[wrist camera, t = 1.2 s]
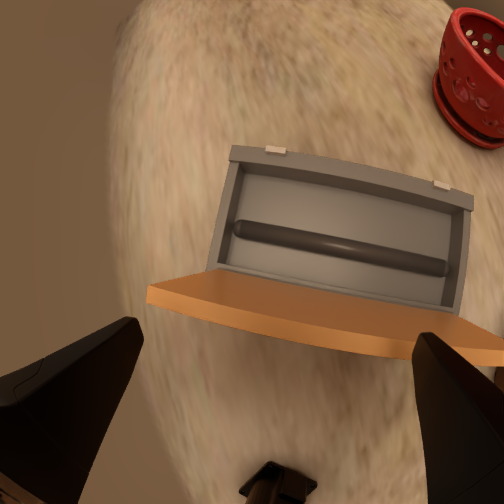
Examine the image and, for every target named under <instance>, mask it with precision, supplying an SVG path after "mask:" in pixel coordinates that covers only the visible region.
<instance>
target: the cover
mask: <svg viewBox="0 0 504 504" xmlns="http://www.w3.org/2000/svg"><path fill="white" fill-rule="evenodd" d="M146 303H149V304H152V305H155V306H158V307H161V308H165V309H168V310H171V311H175V312H178V313H181V314H185V315H188V316H192V317H195V318H199V319H202V320H206V321H210V322H214V323H217V324H221V325H225V326H229V327H233V328H237V329H241V330H245V331H249V332H253V333H258V334H262V335H266V336H271V337H275V338H280V339H284V340H289V341H294V342H299V343H304V344H309V345H314V346H319V347H325V348H330V349H336V350H342V351H348V352H354V353H360V354H367V355H374V356H381V357H388V358H396V359H404V360H412V352H413V349H414V346H415V343H416V341H417V338H418V336H419V334H420V333H421V332H433V333H434V334H435V335H437V336H438V337H439V338H440V339H442V340H443V341H444V342H445V343H447V344H448V345H449V346H450V347H452V348H453V349H454V350H455V351H456V352H458V353H459V354H460V355H461V356H462V357H464V358H465V359H466V360H467V361H468V362H470V363H471V364H472V365H474V366H504V340H503V339H502V338H500V337H498V336H496V335H494V334H492V333H490V332H488V331H486V330H484V329H482V328H480V327H478V326H476V325H475V324H473V323H471V322H469V321H467V320H465V319H463V318H461V317H459V316H457V315H455V314H454V313H453V312H449V311H443V310H437V309H431V308H425V307H420V306H414V305H408V304H402V303H397V302H391V301H386V300H380V299H375V298H369V297H364V296H358V295H353V294H348V293H343V292H337V291H332V290H327V289H322V288H317V287H312V286H307V285H301V284H296V283H292V282H287V281H282V280H277V279H272V278H267V277H262V276H257V275H253V274H248V273H243V272H238V271H234V270H229V269H224V268H220V267H218V268H217V269H215V270H211V271H206V272H202V273H198V274H194V275H190V276H185V277H181V278H177V279H173V280H168V281H164V282H160V283H155V284H151V285H148V290H147V298H146Z"/></svg>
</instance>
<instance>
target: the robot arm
mask: <svg viewBox="0 0 504 504" xmlns="http://www.w3.org/2000/svg"><path fill="white" fill-rule="evenodd" d="M143 342H144V336H143V333H142V330H141V327H140V324H139V321H138V320H137V318H135V317H128V316H126V317H123V318H121V319H119V320H117V321H115V322H113V323H111V324H109V325H107V326H106V327H104V328H102V329H100V330H98V331H96V332H94V333H92V334H90V335H88V336H86V337H84V338H82V339H80V340H78V341H76V342H74V343H72V344H70V345H68V346H66V347H64V348H62V349H60V350H58V351H56V352H54V353H52V354H50V355H48V356H46V357H45V358H42V359H40V360H38V361H36V362H34V363H32V364H30V365H28V366H26V367H24V368H21V369H19V370H16V371H14V372H12V373H9V374H7V375H4V376H2V377H0V504H78V501H79V499H80V496H81V493H82V490H83V488H84V485H85V483H86V480H87V478H88V475H89V472H90V470H91V467H92V465H93V462H94V460H95V458H96V455H97V453H98V450H99V448H100V446H101V443H102V441H103V438H104V436H105V434H106V432H107V429H108V427H109V425H110V422H111V420H112V418H113V416H114V414H115V411H116V409H117V407H118V405H119V403H120V400H121V398H122V396H123V394H124V392H125V390H126V387H127V385H128V383H129V381H130V378H131V376H132V373H133V371H134V368H135V365H136V362H137V359H138V356H139V354H140V351H141V348H142V345H143ZM412 366H413V375H414V386H415V397H416V404H417V410H418V416H419V421H420V428H421V434H422V441H423V449H424V457H425V467H426V478H427V493H428V504H504V394H503V391H502V390H501V389H500V388H499V387H497V386H496V385H495V384H494V383H493V382H492V381H491V380H489V379H488V378H487V377H486V376H485V375H484V374H482V373H481V372H480V371H479V370H478V369H477V368H475V367H474V366H473V365H472V364H471V363H470V362H468V361H467V360H466V359H465V358H464V357H462V356H461V355H460V354H459V353H458V352H456V351H455V350H454V349H453V348H452V347H450V346H449V345H448V344H447V343H445V342H444V341H443V340H442V339H440V338H439V337H438V336H437V335H435V334H434V333H433V332H421V333H420V334H419V336H418V338H417V341H416V343H415V346H414V349H413V352H412ZM269 465H270V466H272V467H269ZM312 485H313V486H312ZM316 488H317V482H315V481H313V480H311V479H308V478H306V477H304V476H302V475H300V474H297V473H295V472H293V471H291V470H289V469H286V468H284V467H282V466H279V465H277V464H275V463H273V462H267V463H266V464H265V465H264V466H263V467H262V468H261V469H260V470H259V471H258V472H257V473H256V474H255V475H254V476H253V477H252V478H251V479H250V480H249V481H248V482H246V483H245V484H244V485H243V486H242V487H241V488H240V489H239V493H240V494H241V495H243V496H245V497H247V501H246V504H305V502H306V496H307V495H309V494H310V493H311V492H312V491H313V490H314V489H316ZM243 491H244V492H243Z"/></svg>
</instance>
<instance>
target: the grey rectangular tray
mask: <svg viewBox="0 0 504 504" xmlns="http://www.w3.org/2000/svg"><path fill="white" fill-rule="evenodd" d="M228 160H229V161H230V164H229V168H228V172H227V176H226V180H225V185H224V189H223V193H222V197H221V202H220V206H219V211H218V215H217V220H216V224H215V229H214V233H213V238H212V243H211V247H210V252H209V257H208V262H207V267H206V271H211V270H215V269H217V268H218V267H220V268H224V269H229V270H234V271H238V272H243V273H248V274H253V275H257V276H262V277H267V278H272V279H277V280H282V281H287V282H292V283H296V284H301V285H307V286H312V287H317V288H322V289H327V290H332V291H337V292H343V293H348V294H353V295H358V296H364V297H369V298H375V299H380V300H386V301H391V302H397V303H402V304H408V305H414V306H420V307H425V308H431V309H437V310H443V311H449V312H453V313H454V314H455V315H457V316H458V315H459V310H460V305H461V300H462V295H463V289H464V282H465V276H466V268H467V260H468V250H469V238H470V221H471V212H472V211H474V196H473V195H471V194H468V193H465V192H462V191H459V190H456V189H453V188H450V185H449V184H446V183H443V182H440V181H437V180H433V181H432V182H430V181H426V180H423V179H419V178H416V177H412V176H408V175H404V174H401V173H397V172H393V171H389V170H384V169H380V168H376V167H371V166H367V165H362V164H358V163H353V162H348V161H343V160H338V159H332V158H327V157H321V156H315V155H309V154H303V153H296V152H289V151H287V150H286V148H283V147H275V146H267V145H266V148H258V147H249V146H239V145H232V147H231V151H230V155H229V159H228Z"/></svg>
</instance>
